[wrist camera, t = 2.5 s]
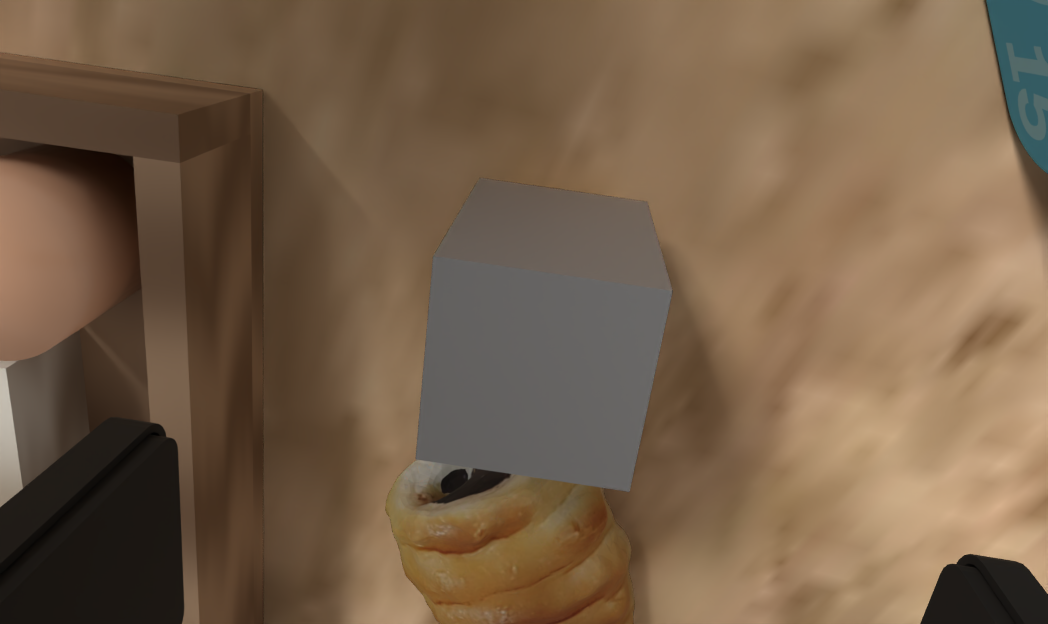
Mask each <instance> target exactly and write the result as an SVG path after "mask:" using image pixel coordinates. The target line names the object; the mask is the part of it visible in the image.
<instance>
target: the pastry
mask: <svg viewBox="0 0 1048 624" xmlns="http://www.w3.org/2000/svg"><path fill="white" fill-rule="evenodd" d="M385 510H386V513H387V515H388V516H389V517H390V521H391V526H392V532H393V533H394V538H395V539H396V541H397V544H398V547H399V549H400V555H401V560H402V565H403V568H404V571H405V574H406V576H407V577H408V579H409V580H410V581H411V582H412V583H413V584H414V585H415V586H416V588H417V589H418V590H419V591H420V592H421V593H422V595H423V596H424V598H425V600H426V603H427V605H428V606H429V607H430V609H431V610H432V612H433V614H434V616H435V618H436V620H437V621H438V622H440V624H633V611H634V607H635V600H634V593H633V586H632V581H631V578H630V575H629V561H630V557H631V545H630V541H629V539H628V536H627V535H626V533H625V531H624V530H623V529H622V528H621V527H620V526H619V525H618V524H617V523H616V522H615V520H614V517H613V514H612V511H611V509H610V507H609V505H608V503H607V501H606V500H605V494H604V491H603V488H601V487H594V486H588V485H581V484H574V483H568V482H561V481H555V480H548V479H541V478H535V477H528V476H522V475H515V474H508V473H502V472H495V471H489V470H482V469H476V468H469V467H462V466H456V465H449V464H443V463H436V462H429V461H423V460H416V461H414V462H413V463H412V464H411V465H410V466H409V467H407V468H406V469H405V470H404V471H403V472H402V473H401V474H400V475H399V476H398V477H397V479H396V481H395V483H394V485H393V486H392V488H391V490H390V492H389V494H388V497H387V500H386V507H385Z"/></svg>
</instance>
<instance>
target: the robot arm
mask: <svg viewBox="0 0 1048 624" xmlns="http://www.w3.org/2000/svg"><path fill="white" fill-rule="evenodd" d="M183 617H184V584H183V559H182V534H181V510H180V485H179V460H178V446H177V443H176V441H175V440H174V439H173V438H169V437H166V432H165V430H164V428H163V426H161V425H160V424H158V423H151V422H145V421H139V420H133V419H126V418H120V417H110V418H108V419H107V420H105V421H104V422H102V423H101V424H100V425H99V426H98V427H96V428H95V429H94V430H93V431H92V432H90V433H89V434H88V435H87V436H85V437H84V438H83V439H82V440H81V441H79V442H78V443H77V444H76V445H75V446H73V447H72V448H71V449H70V450H69V451H67V452H66V453H65V454H64V455H63V456H61V457H60V458H59V459H58V460H57V461H55V462H54V463H53V464H52V465H51V466H49V467H48V468H47V469H46V470H45V471H43V472H42V473H41V474H40V475H38V476H37V477H36V478H35V479H34V480H32V481H31V482H30V483H29V484H28V485H26V486H25V487H24V488H23V489H22V490H20V491H19V492H18V493H17V494H16V495H14V496H13V497H12V498H11V499H10V500H8V501H7V502H6V503H5V504H4V505H2V506H1V507H0V624H182V622H183ZM920 624H1048V594H1047V593H1046V591H1045V590H1044V589H1043V587H1042V586H1041V585H1040V584H1039V582H1038V581H1037V580H1036V578H1035V577H1034V576H1033V574H1032V573H1031V572H1030V571H1029V569H1027V568H1026V567H1025V566H1024V565H1023V564H1021V563H1019V562H1016V561H1010V560H1004V559H998V558H991V557H985V556H979V555H973V554H968V555H964V556H963V557H962V558H960V559H959V560H958V562H957V564H949V565H947V566H946V567H944V569H943V570H942V572H941V574H940V576H939V579H938V581H937V584H936V586H935V589H934V591H933V594H932V596H931V599H930V601H929V604H928V606H927V609H926V611H925V614H924V616H923V618H922V621H921V623H920Z"/></svg>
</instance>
